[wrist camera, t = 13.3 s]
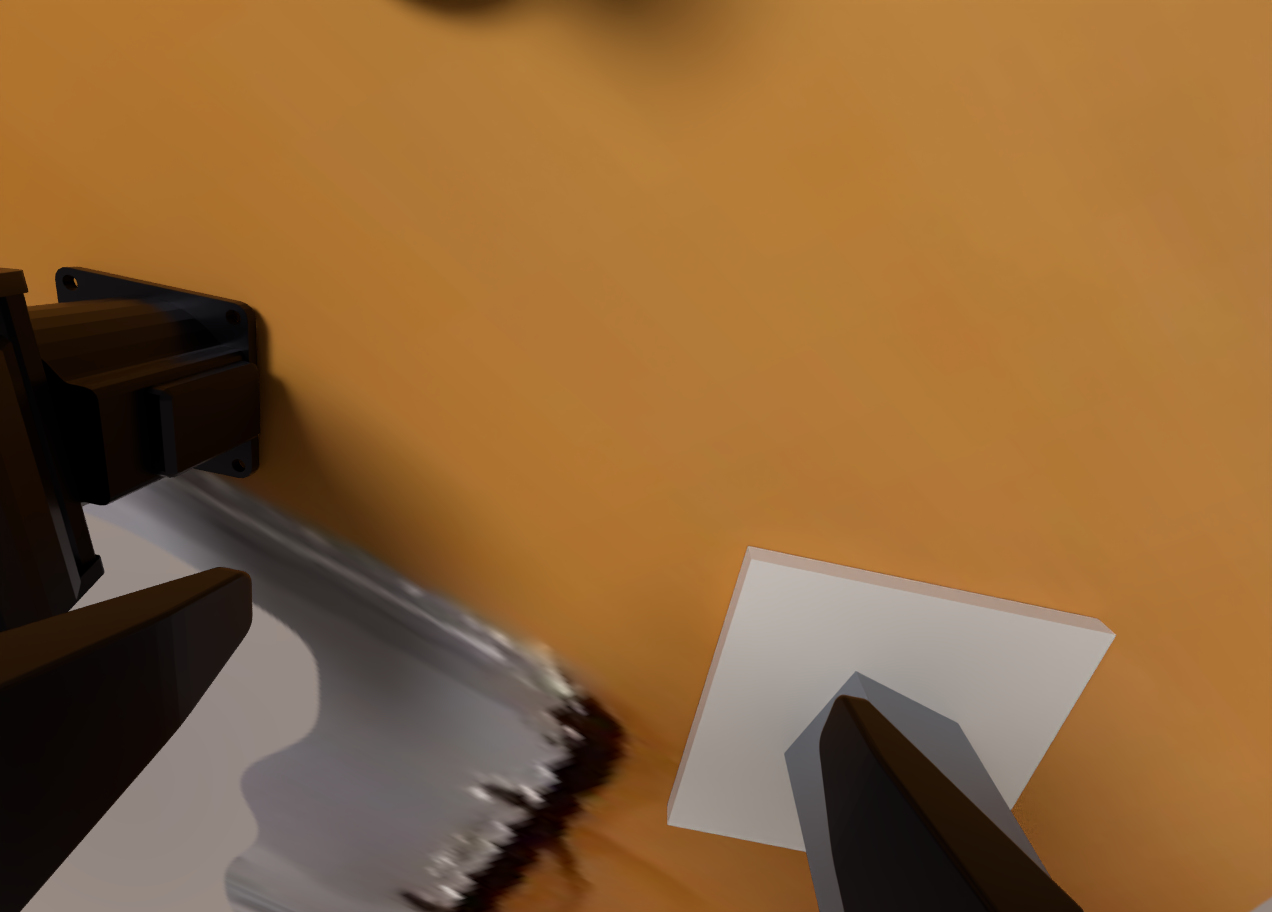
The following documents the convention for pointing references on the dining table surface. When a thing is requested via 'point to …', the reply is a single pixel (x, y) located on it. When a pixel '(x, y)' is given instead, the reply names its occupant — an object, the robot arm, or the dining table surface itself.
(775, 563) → the white plate
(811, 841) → the tall block
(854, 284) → the dining table surface
